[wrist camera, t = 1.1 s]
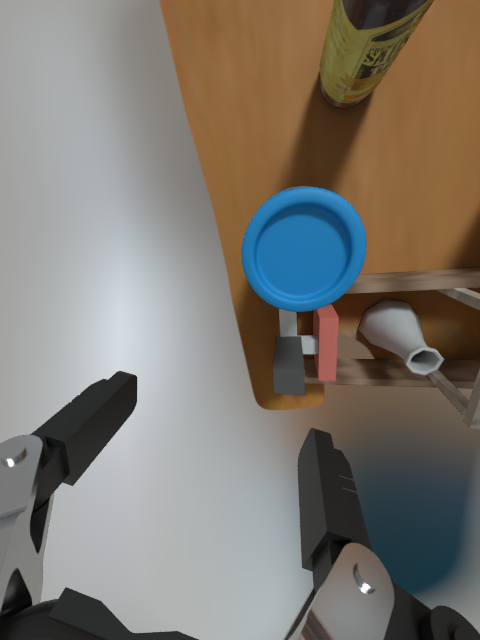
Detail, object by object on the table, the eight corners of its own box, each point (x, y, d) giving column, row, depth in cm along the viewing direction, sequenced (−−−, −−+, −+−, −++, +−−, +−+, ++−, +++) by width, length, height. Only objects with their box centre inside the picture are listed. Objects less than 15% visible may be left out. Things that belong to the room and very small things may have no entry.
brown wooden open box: (535, 263, 27) (701, 292, 16) (498, 366, 32) (605, 441, 21) (269, 280, 33) (260, 309, 23) (274, 363, 39) (269, 419, 28)
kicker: (329, 279, 31) (354, 316, 19) (326, 364, 36) (344, 437, 24) (276, 282, 33) (269, 318, 21) (280, 364, 38) (276, 432, 26)
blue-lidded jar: (254, 211, 30) (204, 197, 12) (322, 189, 28) (382, 132, 10) (269, 274, 33) (246, 338, 15) (332, 259, 31) (393, 313, 13)
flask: (383, 288, 31) (422, 316, 22) (429, 315, 31) (486, 353, 22) (348, 330, 34) (369, 369, 25) (390, 354, 34) (426, 401, 25)
